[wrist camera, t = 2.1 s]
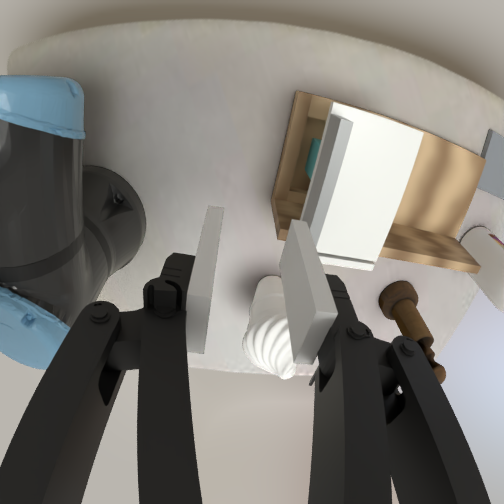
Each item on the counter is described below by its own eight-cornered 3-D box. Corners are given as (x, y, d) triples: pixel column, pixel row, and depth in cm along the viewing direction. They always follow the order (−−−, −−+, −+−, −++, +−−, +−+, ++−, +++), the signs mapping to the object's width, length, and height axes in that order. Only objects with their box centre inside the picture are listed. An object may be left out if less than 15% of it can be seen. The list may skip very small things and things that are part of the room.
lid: (282, 221, 37) (294, 277, 28) (313, 95, 30) (344, 106, 20) (351, 233, 38) (381, 288, 29) (389, 117, 31) (440, 140, 21)
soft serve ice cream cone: (231, 290, 46) (227, 381, 33) (268, 252, 43) (277, 342, 29) (274, 315, 49) (283, 402, 36) (311, 282, 46) (334, 369, 32)
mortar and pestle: (419, 294, 48) (465, 376, 33) (390, 316, 50) (426, 401, 35) (402, 273, 45) (452, 361, 30) (371, 298, 48) (409, 390, 33)
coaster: (470, 184, 37) (474, 186, 36) (489, 129, 33) (493, 130, 32) (504, 198, 38) (507, 201, 37) (521, 150, 34) (525, 151, 33)
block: (304, 169, 36) (318, 194, 30) (312, 137, 34) (329, 155, 28) (335, 176, 37) (355, 202, 30) (344, 145, 35) (367, 165, 28)
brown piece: (270, 201, 39) (277, 239, 31) (296, 90, 32) (313, 96, 24) (445, 238, 42) (477, 274, 34) (478, 155, 35) (520, 180, 27)
